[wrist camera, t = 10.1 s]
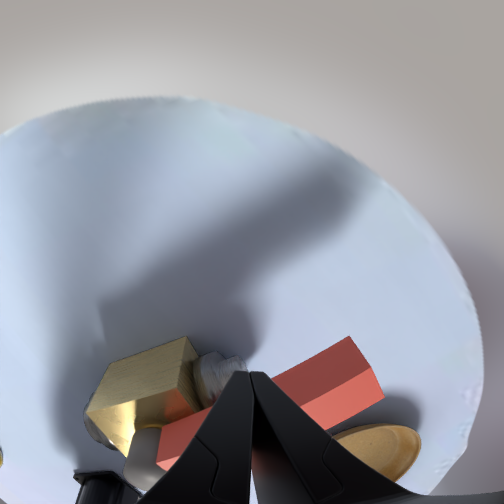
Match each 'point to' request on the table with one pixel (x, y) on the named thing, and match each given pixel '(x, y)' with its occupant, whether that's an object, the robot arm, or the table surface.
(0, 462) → the bread roll
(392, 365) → the table surface
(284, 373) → the lever
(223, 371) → the valve pipe
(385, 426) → the plant saucer
